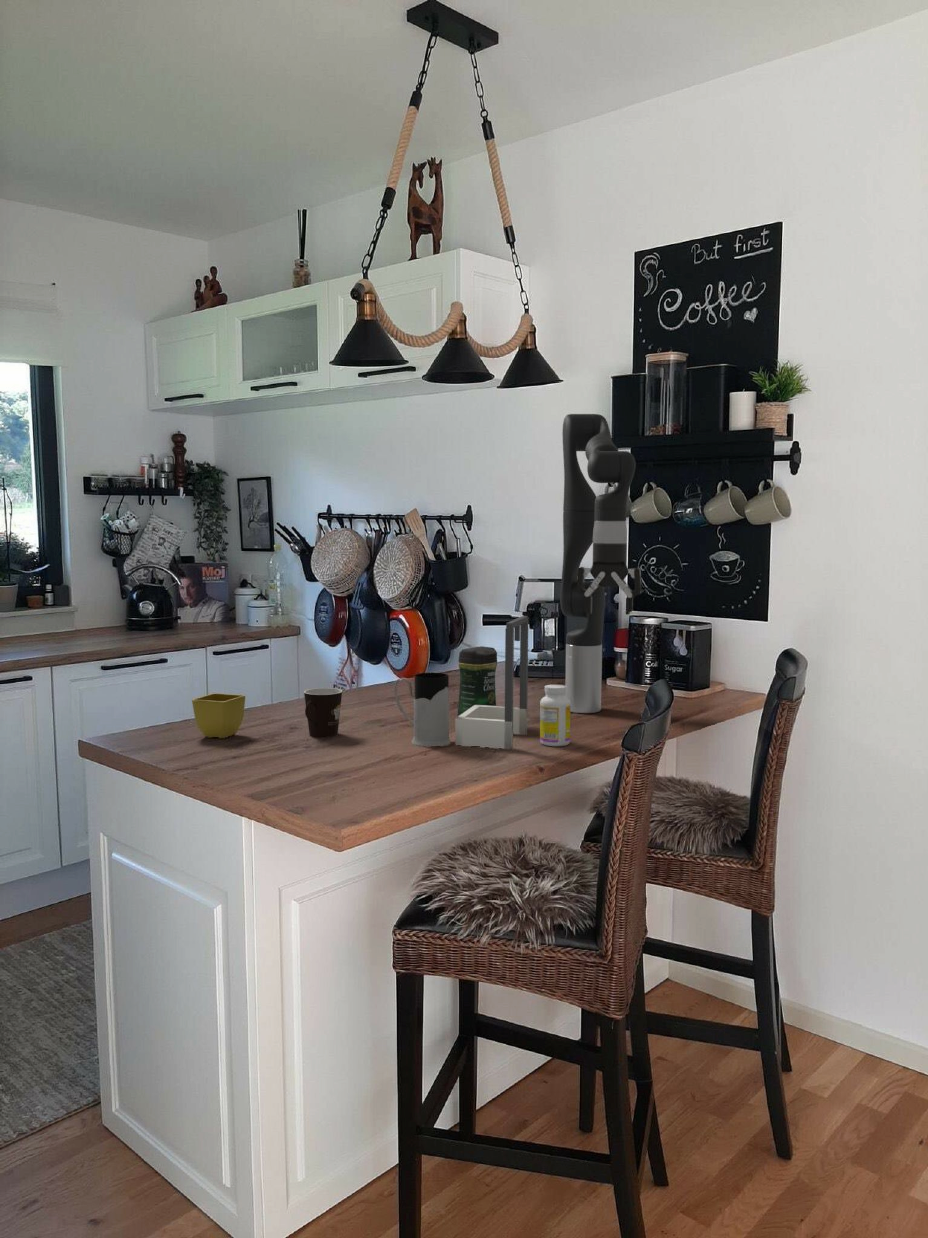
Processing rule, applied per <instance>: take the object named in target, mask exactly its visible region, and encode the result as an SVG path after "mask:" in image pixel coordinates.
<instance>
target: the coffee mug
mask: <svg viewBox="0 0 928 1238" xmlns="http://www.w3.org/2000/svg"><path fill="white" fill-rule="evenodd" d="M303 695H304V696H303V697H304V702H305V703H304V704H305V708H304V714H305V717H306V719H307V720H306V721H307V726H308V733H309V735H308V736H310V737H312V738H317V739H318V738H319V739H320V738H321V739H325V738H326V739H327V738H333V737H337V736H338V733H339V727H340V717H341V715H340V714H341V706H342V705H341V704H342V698H343V697H342V696H343V690H342V689H339V688H334V687H333V688H332V687H319V688H318V687H317V688H310V689H306V690H304V691H303Z"/></svg>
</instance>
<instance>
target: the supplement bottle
mask: <svg viewBox="0 0 928 1238" xmlns="http://www.w3.org/2000/svg"><path fill="white" fill-rule="evenodd" d="M544 692H545V696H543V697H542V698H541V699H540V702H539V709H540V711H539V742H540V744H542V745H543V746H547V747H566V746H568V745H569V744H570V743H571V712H570V708H571V703H570V700H569V698H567V697H565V693H566V686H565V684H547V685H544Z"/></svg>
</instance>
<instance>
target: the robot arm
mask: <svg viewBox="0 0 928 1238" xmlns="http://www.w3.org/2000/svg"><path fill="white" fill-rule="evenodd" d="M577 452H584V454H585V457H586V459H587V468H586V470H587V476H588V478H589V480H590V481H592V482H594V483H597V484H617V486H616V488H615V489H614V490H613V491H611V492H609V493H608V492H607V493H603V494H598V495H596V493H595V491H594V489H593V488H592V487H591V485H590V484H589V482H588V480H587V479H586V478H585V475H584V472H582V469H581V467H580V464H579V460H578V459H579V458H578V454H577ZM562 453H563V477H564V478H563V481H564V482H563V484H564V485H563V507H562V509H563V510H562V512H563V514H562V527H563V530H562V534H563V548H562V549H563V550H562V551H563V555H562V570H561V572H562V573H561V581H560V582H561V583H560V584H561V585H560V595H559V596H560V597H559V599H560V609H561V612H562V614H563V616H565V617H568V618H569V617H570V618H584V619H587V620H586V624H585V625H583V626H582V627H580V628H577V629H575V630H572V631H569V632H567V633H566V635H565V643H566V644H565V682H564V683H565V684H564V686H566V693H565V697H567V698H569V700H570V703H571V708H570V713H575V714H576V713H577V714H579V713H580V714H591V713H592V714H594V713H598V712H600V711H601V710H602V669H603V663H602V662H603V635H604V620H605V619H604V618H605V609H606V592H605V588H606V587H610V588H617V587H619V589H621V590H622V591H623V593H624V594H625V596H626V598H625V615H627V616H628V615H629V616H630V614H631V613H632V612H633V610H634V598H635V597H637V596H640V595H641V594H642V570H641V568H640V567H636V568H628V564H627V555H628V554H627V553H628V528H627V507H628V506H627V503H628V497H629V492H630V488H631V484H632V481H633V478H634V475H635V471H636V467H637V465H636V464H637V463H636V459H635V457H634V455H633V454H632V452H630V451H626V450H620V451H619V449H618V447H617V446H616V444H614V442H613V440H612V434H611V431H610V427H609V423H608V421H607V418H605V416H603V415H602V414H599V413H569V414H566V415H565V417H564V418H563V423H562ZM591 546H592V564H591V567H589V568H588V567H585V566H581V563H582V561H583V559H584V557H585V556H586V554H587V552H588V550H589V549H590V548H591ZM589 573H590V576H591V577H593V579H594V580H593V581H585V579H586V577H588V576H589ZM628 575H630V577H631V578H632V579H634V590H632V589H631V588H630V586H629V584H627V582H626V581H625V579H626V577H627V576H628Z"/></svg>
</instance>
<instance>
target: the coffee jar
mask: <svg viewBox="0 0 928 1238" xmlns="http://www.w3.org/2000/svg"><path fill="white" fill-rule="evenodd" d="M497 667H498V652H497V650H496V649H495V647H491V646H490V647H489V646H474V647H468V648H463V649H461V650H460V651H459V654H458V669H459V692H458V702H457V703H458V705H457V717H458V716H459V715H461V714H462V713H464V712H465V711H467V710H468V709H470V708H471V707H472V706H474V705H487V706H497V699H496V697H497V696H496V672H497V671H496V670H497ZM457 717H456V718H457Z"/></svg>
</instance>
